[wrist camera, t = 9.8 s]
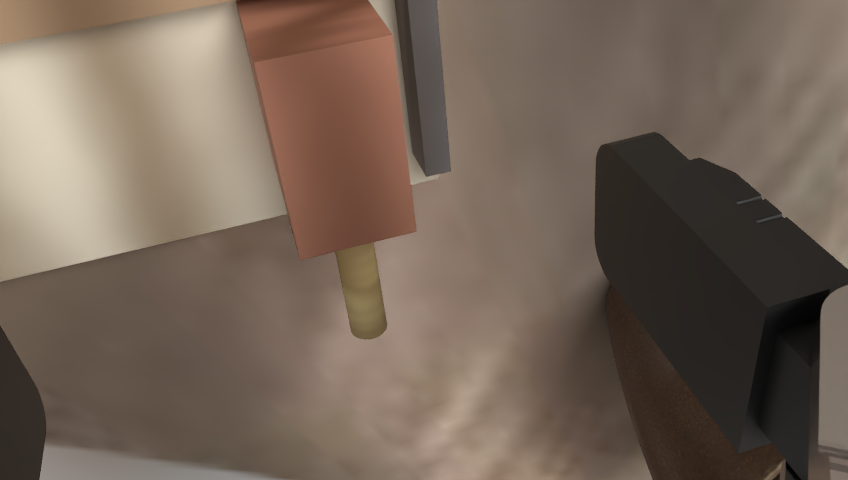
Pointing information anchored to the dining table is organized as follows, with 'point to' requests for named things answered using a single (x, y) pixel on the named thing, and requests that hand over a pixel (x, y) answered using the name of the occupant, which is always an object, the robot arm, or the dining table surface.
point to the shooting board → (158, 124)
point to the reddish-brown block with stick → (334, 135)
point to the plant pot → (675, 412)
